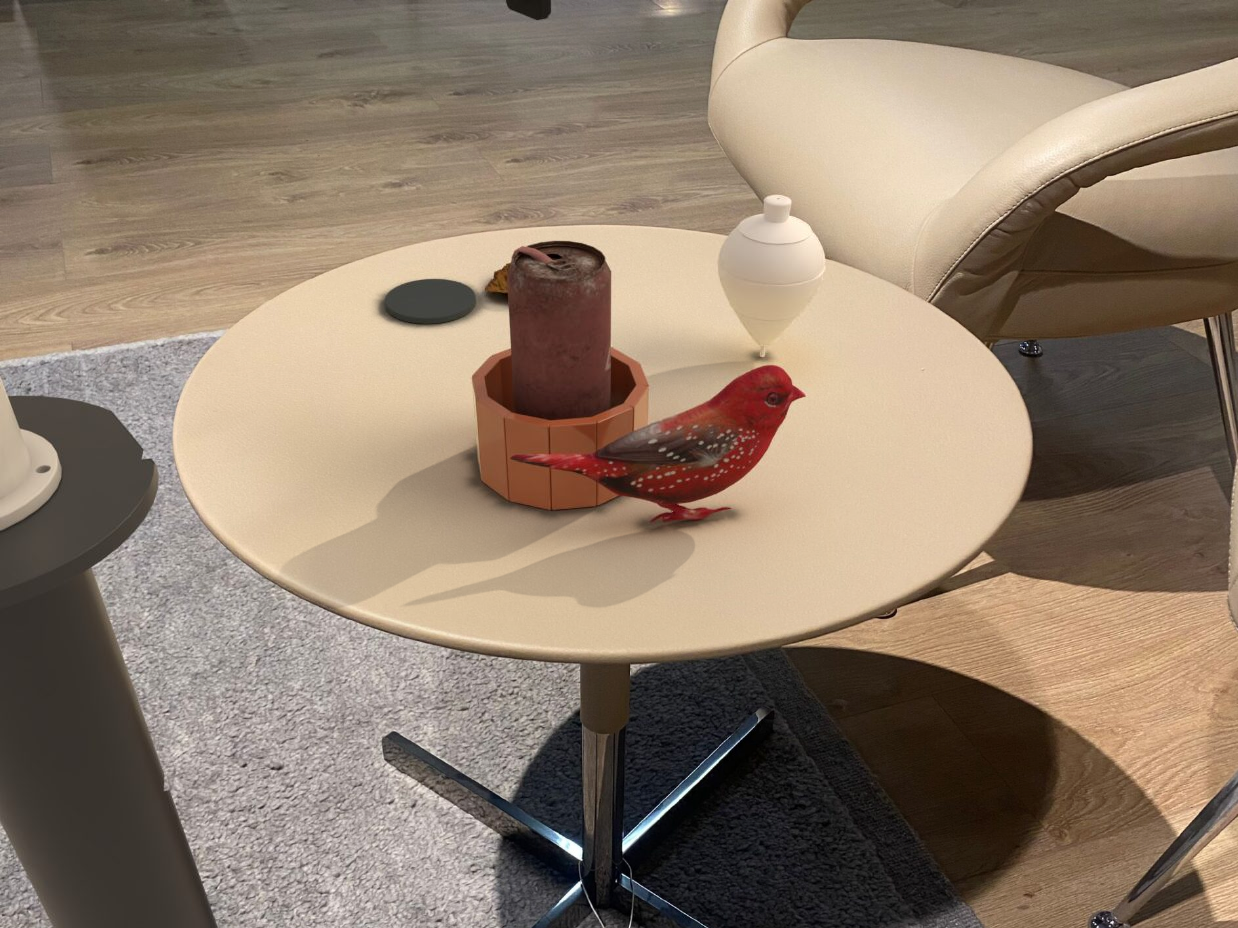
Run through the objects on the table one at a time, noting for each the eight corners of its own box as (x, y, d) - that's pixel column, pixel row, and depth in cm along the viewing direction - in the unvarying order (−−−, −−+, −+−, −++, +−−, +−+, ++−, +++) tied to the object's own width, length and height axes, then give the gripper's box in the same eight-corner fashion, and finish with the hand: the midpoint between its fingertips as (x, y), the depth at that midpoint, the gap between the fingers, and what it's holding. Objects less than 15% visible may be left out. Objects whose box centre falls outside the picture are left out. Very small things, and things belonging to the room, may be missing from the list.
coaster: (387, 327, 92) (386, 321, 92) (383, 287, 98) (383, 281, 97) (479, 320, 93) (479, 314, 93) (471, 281, 99) (471, 275, 98)
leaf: (470, 296, 97) (469, 278, 96) (521, 258, 101) (520, 240, 100) (535, 323, 95) (534, 305, 93) (584, 284, 99) (584, 266, 97)
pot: (487, 516, 73) (481, 432, 69) (472, 426, 81) (465, 346, 77) (659, 500, 75) (662, 417, 71) (627, 413, 83) (628, 334, 79)
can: (535, 430, 81) (526, 229, 72) (622, 447, 79) (625, 245, 70) (498, 476, 77) (484, 269, 68) (590, 496, 75) (589, 286, 66)
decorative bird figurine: (800, 518, 74) (820, 373, 67) (519, 559, 70) (511, 410, 64) (783, 492, 76) (801, 349, 69) (510, 531, 72) (501, 384, 66)
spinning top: (831, 371, 88) (854, 211, 80) (738, 389, 86) (752, 226, 78) (784, 326, 93) (801, 172, 86) (695, 342, 91) (704, 185, 83)
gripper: (707, -434, 57) (689, -34, 68) (384, -449, 49) (424, 8, 60) (816, -436, 52) (778, -7, 64) (480, -452, 44) (504, 42, 56)
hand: (606, 0), depth 62 cm, fingers open, 9 cm apart
